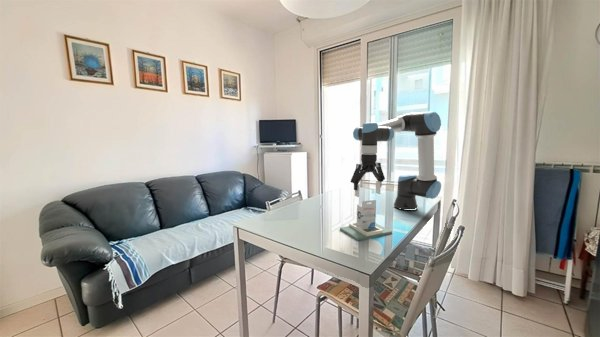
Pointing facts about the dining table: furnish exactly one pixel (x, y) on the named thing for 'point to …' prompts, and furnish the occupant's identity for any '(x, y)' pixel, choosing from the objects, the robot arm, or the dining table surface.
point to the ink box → (366, 214)
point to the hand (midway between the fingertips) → (367, 194)
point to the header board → (364, 231)
